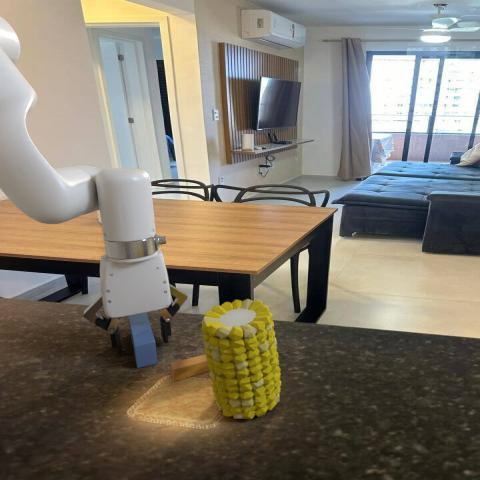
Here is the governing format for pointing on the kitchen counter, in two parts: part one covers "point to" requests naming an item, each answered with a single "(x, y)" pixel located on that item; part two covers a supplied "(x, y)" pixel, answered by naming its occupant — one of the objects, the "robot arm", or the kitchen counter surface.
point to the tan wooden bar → (189, 367)
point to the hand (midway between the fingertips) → (142, 344)
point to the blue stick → (142, 340)
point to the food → (242, 358)
